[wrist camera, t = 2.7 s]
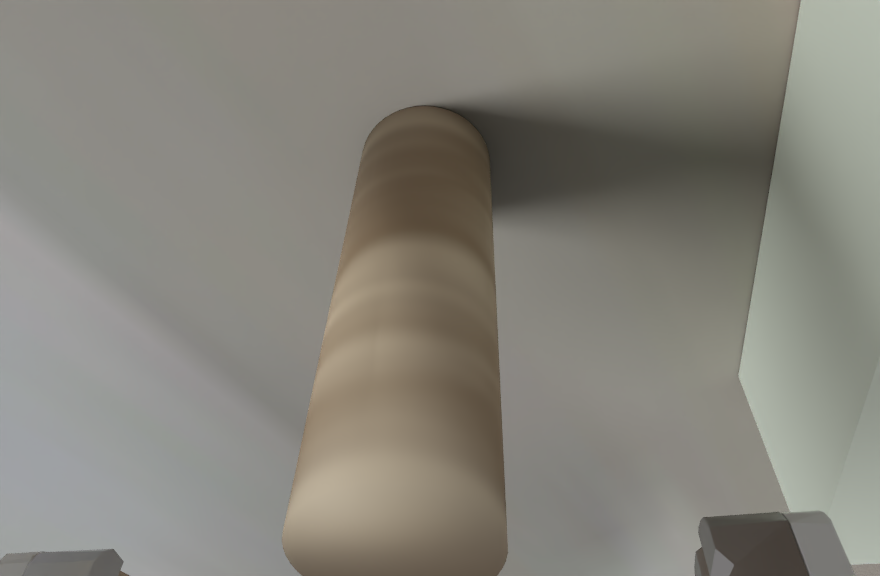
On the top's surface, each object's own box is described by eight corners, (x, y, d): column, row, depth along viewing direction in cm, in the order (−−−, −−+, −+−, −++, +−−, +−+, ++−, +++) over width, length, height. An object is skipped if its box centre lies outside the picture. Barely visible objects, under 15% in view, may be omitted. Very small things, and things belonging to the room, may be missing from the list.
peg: (349, 113, 17) (254, 489, 9) (483, 98, 17) (498, 474, 9) (375, 223, 19) (312, 610, 11) (495, 212, 19) (515, 601, 11)
